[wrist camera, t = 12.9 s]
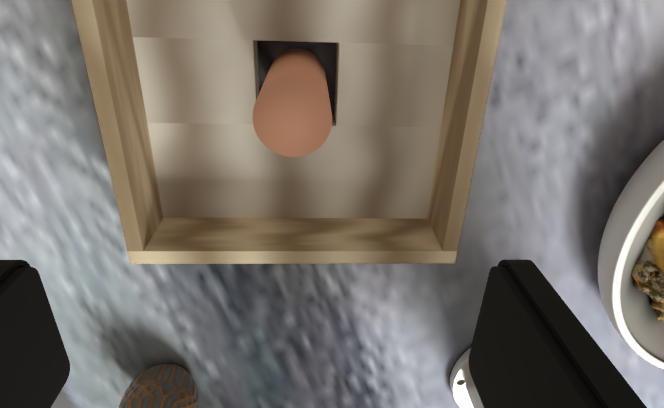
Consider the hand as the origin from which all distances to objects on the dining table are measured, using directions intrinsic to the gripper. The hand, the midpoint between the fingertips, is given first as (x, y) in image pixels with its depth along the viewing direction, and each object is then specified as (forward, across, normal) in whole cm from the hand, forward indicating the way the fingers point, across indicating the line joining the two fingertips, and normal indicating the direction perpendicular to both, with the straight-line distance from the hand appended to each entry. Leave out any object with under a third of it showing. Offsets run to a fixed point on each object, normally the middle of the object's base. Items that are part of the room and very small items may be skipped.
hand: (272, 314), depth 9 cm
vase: (+24, +13, +30) cm, 41 cm away
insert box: (+24, 0, 0) cm, 24 cm away
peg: (+24, 0, 0) cm, 24 cm away
